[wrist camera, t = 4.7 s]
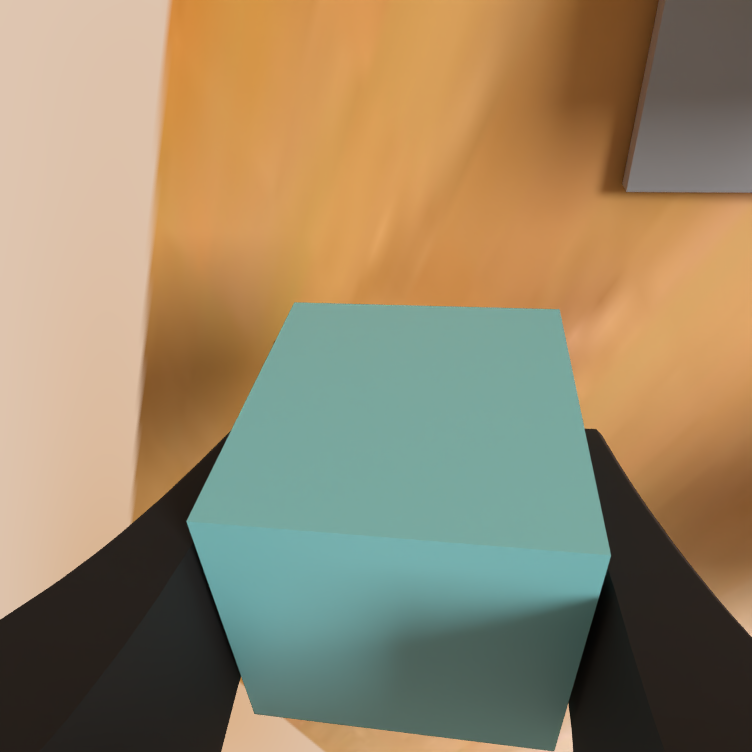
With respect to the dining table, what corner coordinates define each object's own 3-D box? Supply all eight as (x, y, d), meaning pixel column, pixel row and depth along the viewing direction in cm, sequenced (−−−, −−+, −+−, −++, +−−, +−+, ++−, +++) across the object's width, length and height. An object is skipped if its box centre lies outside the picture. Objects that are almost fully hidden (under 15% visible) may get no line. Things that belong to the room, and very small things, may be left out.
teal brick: (531, 496, 13) (554, 751, 9) (320, 482, 13) (254, 713, 10) (559, 309, 10) (611, 555, 6) (294, 302, 11) (186, 521, 7)
